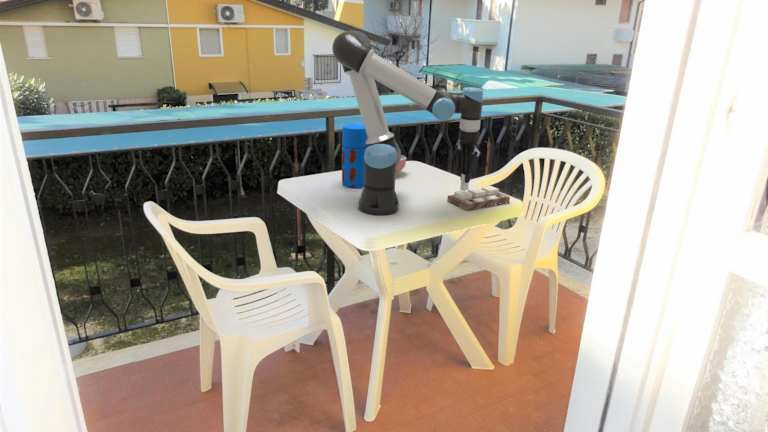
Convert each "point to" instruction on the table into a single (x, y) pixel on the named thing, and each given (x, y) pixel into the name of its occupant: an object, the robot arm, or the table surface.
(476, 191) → the button middle
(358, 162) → the thermos
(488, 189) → the button right
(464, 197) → the button left
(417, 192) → the table surface
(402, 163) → the cell model
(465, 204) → the button board
